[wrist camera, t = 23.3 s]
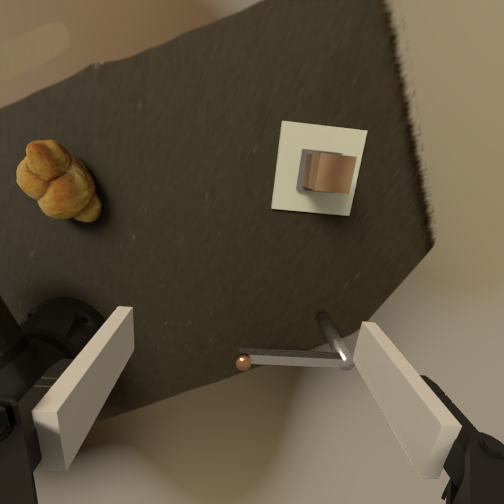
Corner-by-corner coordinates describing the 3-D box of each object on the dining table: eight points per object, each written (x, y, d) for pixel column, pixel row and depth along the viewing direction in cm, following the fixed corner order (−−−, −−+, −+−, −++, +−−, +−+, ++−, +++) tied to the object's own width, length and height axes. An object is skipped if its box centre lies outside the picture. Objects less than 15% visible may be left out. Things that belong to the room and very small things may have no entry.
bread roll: (118, 209, 47) (95, 219, 40) (70, 231, 48) (39, 245, 41) (74, 135, 43) (39, 130, 36) (22, 161, 44) (-22, 161, 37)
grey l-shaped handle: (326, 321, 56) (356, 376, 42) (236, 316, 55) (235, 370, 41) (328, 311, 56) (359, 363, 41) (237, 305, 54) (236, 357, 40)
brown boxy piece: (296, 188, 47) (308, 195, 38) (302, 149, 45) (316, 146, 36) (332, 192, 47) (352, 199, 39) (339, 153, 45) (363, 151, 37)
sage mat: (271, 208, 48) (271, 208, 48) (281, 121, 44) (282, 120, 43) (348, 215, 49) (349, 215, 49) (365, 131, 45) (367, 130, 44)
